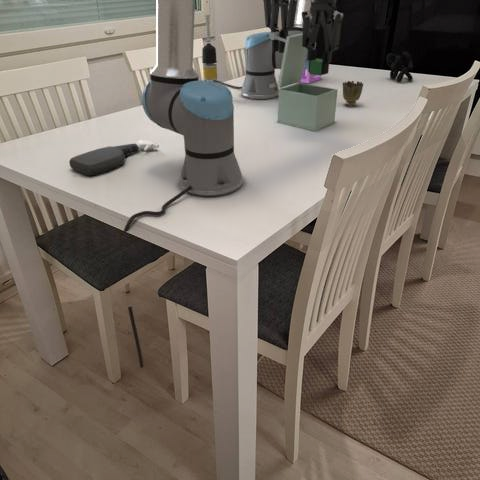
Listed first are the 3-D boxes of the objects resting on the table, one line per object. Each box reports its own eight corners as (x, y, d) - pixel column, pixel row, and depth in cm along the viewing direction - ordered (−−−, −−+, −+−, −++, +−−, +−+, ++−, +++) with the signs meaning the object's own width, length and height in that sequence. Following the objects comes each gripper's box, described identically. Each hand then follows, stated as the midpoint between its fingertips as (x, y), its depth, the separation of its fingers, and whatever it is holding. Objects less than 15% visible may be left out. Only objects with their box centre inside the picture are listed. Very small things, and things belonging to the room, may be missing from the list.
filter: (220, 99, 177) (217, 15, 161) (206, 100, 176) (202, 16, 160) (215, 96, 182) (212, 14, 166) (202, 97, 180) (197, 14, 164)
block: (327, 73, 140) (328, 59, 138) (320, 75, 138) (321, 61, 136) (315, 71, 142) (316, 58, 140) (309, 74, 140) (310, 60, 138)
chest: (334, 122, 150) (337, 89, 145) (314, 131, 143) (317, 96, 137) (297, 114, 159) (299, 82, 153) (277, 122, 151) (278, 89, 146)
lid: (311, 32, 143) (288, 25, 147) (289, 37, 135) (266, 28, 140) (300, 81, 153) (279, 72, 157) (280, 88, 145) (258, 78, 149)
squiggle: (400, 92, 202) (376, 71, 205) (417, 76, 202) (392, 56, 205) (405, 81, 191) (380, 59, 194) (423, 64, 191) (397, 42, 194)
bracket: (309, 83, 198) (310, 66, 194) (298, 81, 200) (299, 65, 197) (323, 78, 206) (324, 62, 203) (312, 76, 209) (313, 60, 205)
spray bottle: (67, 168, 120) (139, 144, 136) (91, 178, 114) (163, 151, 130) (65, 157, 118) (137, 134, 134) (89, 167, 112) (162, 142, 128)
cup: (337, 106, 166) (340, 84, 162) (343, 101, 171) (346, 79, 167) (357, 108, 163) (360, 86, 159) (363, 103, 168) (365, 81, 164)
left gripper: (357, -13, 125) (348, 74, 137) (306, -14, 135) (302, 67, 147) (343, -12, 120) (335, 78, 133) (292, -13, 130) (289, 71, 143)
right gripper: (309, -33, 132) (304, 52, 145) (268, -32, 141) (267, 48, 154) (294, -32, 128) (290, 56, 140) (253, -32, 136) (253, 51, 149)
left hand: (318, 72), depth 140 cm, fingers closed on block, 4 cm apart
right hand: (278, 51), depth 147 cm, fingers closed on lid, 2 cm apart
